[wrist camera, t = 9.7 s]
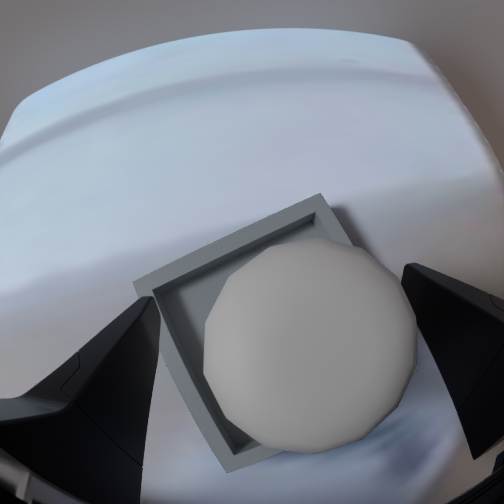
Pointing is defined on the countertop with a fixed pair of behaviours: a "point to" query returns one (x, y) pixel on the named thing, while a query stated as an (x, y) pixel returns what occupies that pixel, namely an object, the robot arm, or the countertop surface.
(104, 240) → the countertop surface
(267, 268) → the salt shaker
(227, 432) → the tray
